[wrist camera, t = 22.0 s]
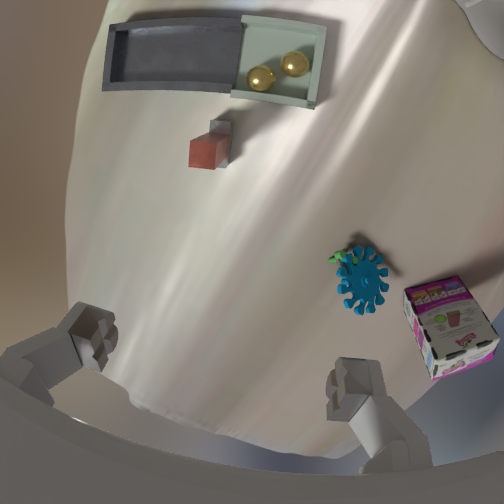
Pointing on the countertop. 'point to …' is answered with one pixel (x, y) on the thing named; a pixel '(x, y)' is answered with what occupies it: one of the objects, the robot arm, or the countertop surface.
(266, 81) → the yellow-brown round piece
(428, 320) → the candy bar box
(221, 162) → the red-brown bar
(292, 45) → the tray
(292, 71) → the shiny gold ball
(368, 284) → the gear
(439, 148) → the countertop surface
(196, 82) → the tray
